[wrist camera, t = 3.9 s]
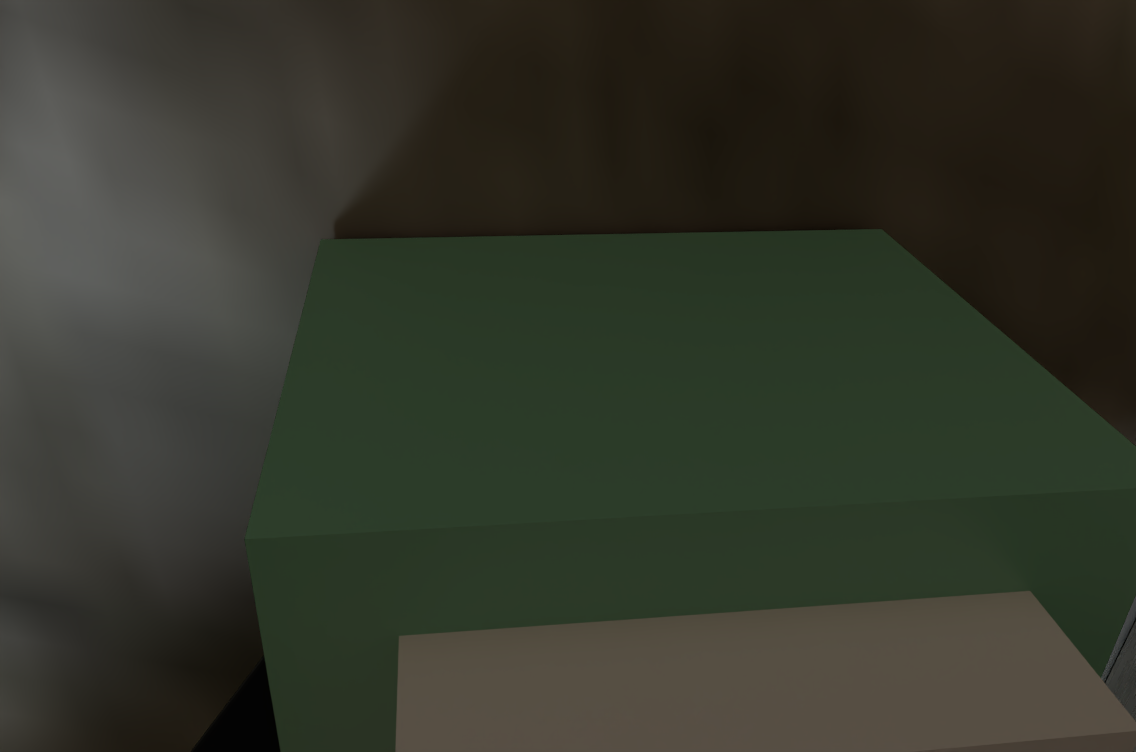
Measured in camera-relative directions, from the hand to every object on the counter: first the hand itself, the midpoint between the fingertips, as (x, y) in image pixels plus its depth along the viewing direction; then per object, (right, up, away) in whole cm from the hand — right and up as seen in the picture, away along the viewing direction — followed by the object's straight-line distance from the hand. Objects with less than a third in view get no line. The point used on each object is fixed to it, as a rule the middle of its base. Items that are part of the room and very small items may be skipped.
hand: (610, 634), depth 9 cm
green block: (0, 0, +1) cm, 1 cm away
